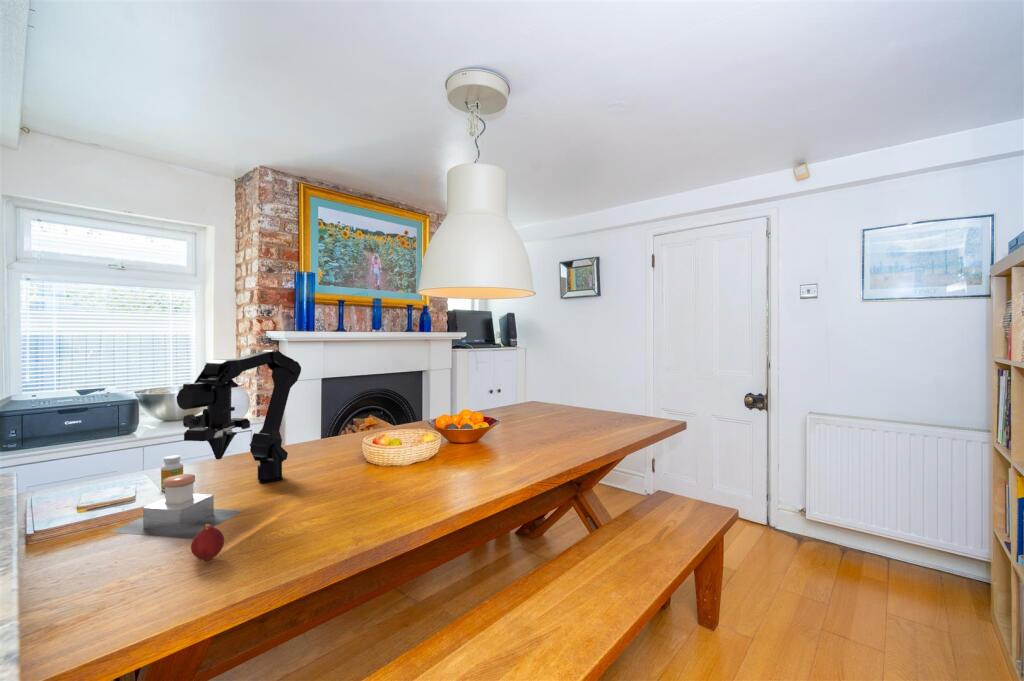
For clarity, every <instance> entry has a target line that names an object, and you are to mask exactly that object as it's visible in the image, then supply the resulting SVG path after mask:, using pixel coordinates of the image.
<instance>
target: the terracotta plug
mask: <svg viewBox="0 0 1024 681" xmlns="http://www.w3.org/2000/svg"><path fill="white" fill-rule="evenodd" d="M195 482H196V475H195V474H191V473H186V474H184V473H183V474H182V475H176V476H172V477H168V478H166V479H164V480H163V486H164V487H165V491H164V493H165V494H164V497H165V498H164V499H165V504H168V505H182V504H184V503H186V502H188V501H191V500H193V493H194V483H195Z"/></svg>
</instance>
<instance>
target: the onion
mask: <svg viewBox="0 0 1024 681" xmlns="http://www.w3.org/2000/svg"><path fill="white" fill-rule="evenodd" d="M203 527H204V529H202V530H201V531H200V532H199V533H198V534H197V535H196V536H195V537H194V538H193V539H192V542H191V544H190V551H191V553H192V555H193V556H194V557H196V558H197V559H198V560H201V561H203V562H205V563H207V562H210V561H212V560H213V559H214V558H215V557H216V556H218V555H219V554H220V552H222V550H223V547H224V545H225V537H224V534H223V532H222V531H221V530H220V529H219V528H217V527H216V526H215V527H212V526H211V525H209V524H206V525H205V526H203Z"/></svg>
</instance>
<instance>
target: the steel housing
mask: <svg viewBox="0 0 1024 681" xmlns="http://www.w3.org/2000/svg"><path fill="white" fill-rule="evenodd" d="M214 500H215V498H214V494H208V493H207V494H206V493H205V494H204V493H194V492H193V500H191V501H188V502H186V503H184V504H182V505H168V504H165V498H163V499H160V500H158V501H155V502H154V503H151V504H148V505H146V506H143V507H142V517H143V528H148V529H160V530H172V531H182V530H183V529H185V528H187V527H189V526H191V525H193V524H195V523H197V522H199V521H201V520H203V519H205V518H207V517H209V516H211V515H213V514H214V509H215V507H214V506H215V505H214V503H215V502H214Z"/></svg>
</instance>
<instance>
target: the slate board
mask: <svg viewBox="0 0 1024 681" xmlns="http://www.w3.org/2000/svg"><path fill="white" fill-rule="evenodd" d="M242 512H243V510H237V509H235V510H234V509H222V508H214V514H213V515H211V516H209V517H207V518H205V519H203V520H201V521H199V522H197V523H195V524H193V525H191V526H189V527H187V528H185V529H183V530H182V531H172V530H160V529H148V528H143V516H142V517H139V518H138V519H135V520H132V521H130V522H128V523H126V524H124V525H121V526H119V527H117V528H115V529H111V530H109V531H108V532H109V533H116V534H127V535H128V534H129V535H138V536H139V535H140V536H151V537H161V538H172V539H173V538H175V539H184V540H193V539H194V537H195V536H196V535H197V534H198V533H199V532H200V531H201V530H202V529H204V527H203V526H205V525H206V524H209V525H211V526H212V527H215V528H216V527H217V526H219V525H221V524H222V523H224V522H226V521H228V520H229V519H232V518H233V517H235V516H237V515H238V514H240V513H242Z"/></svg>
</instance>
